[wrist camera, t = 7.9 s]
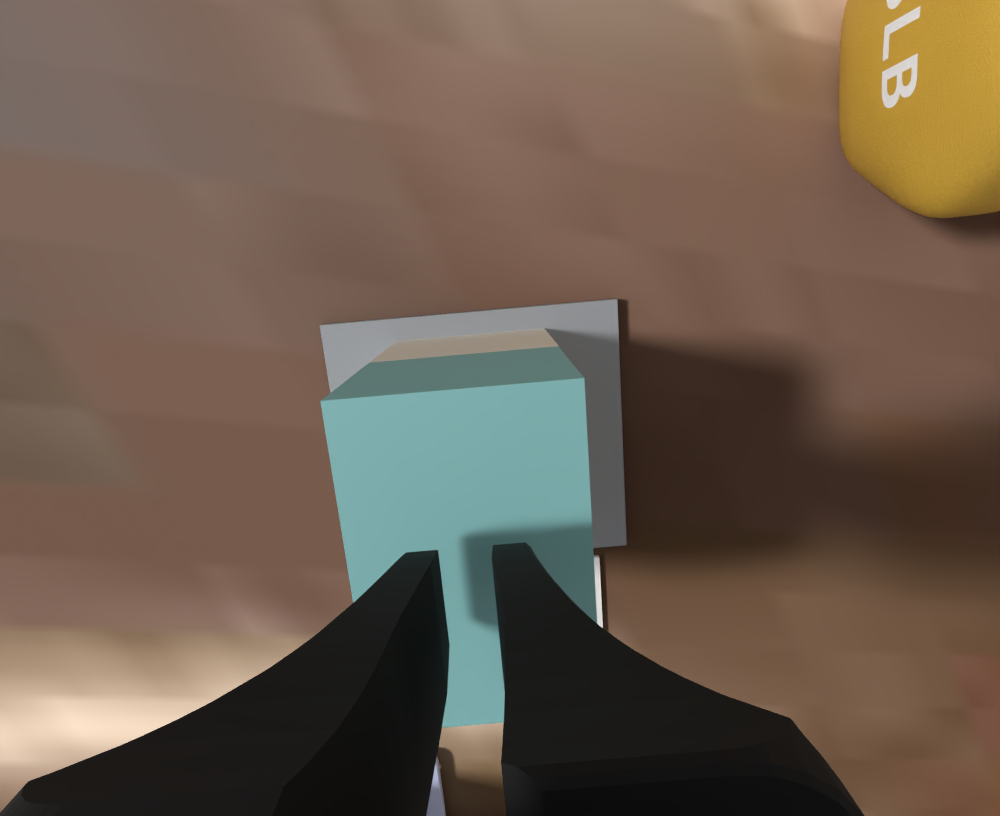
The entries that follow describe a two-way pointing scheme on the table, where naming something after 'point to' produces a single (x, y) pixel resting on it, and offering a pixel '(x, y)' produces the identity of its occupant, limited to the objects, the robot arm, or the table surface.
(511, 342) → the brick cream
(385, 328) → the build board
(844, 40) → the dumbbell
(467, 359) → the brick teal
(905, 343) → the table surface
